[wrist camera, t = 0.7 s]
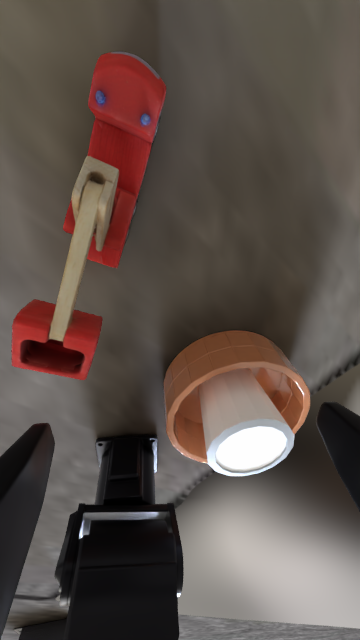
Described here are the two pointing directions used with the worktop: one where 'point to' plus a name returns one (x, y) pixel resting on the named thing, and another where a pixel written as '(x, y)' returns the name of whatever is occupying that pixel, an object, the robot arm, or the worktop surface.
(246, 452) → the shot glass
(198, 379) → the bowl
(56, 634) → the black wifi router
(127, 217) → the toy fire truck
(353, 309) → the worktop surface
